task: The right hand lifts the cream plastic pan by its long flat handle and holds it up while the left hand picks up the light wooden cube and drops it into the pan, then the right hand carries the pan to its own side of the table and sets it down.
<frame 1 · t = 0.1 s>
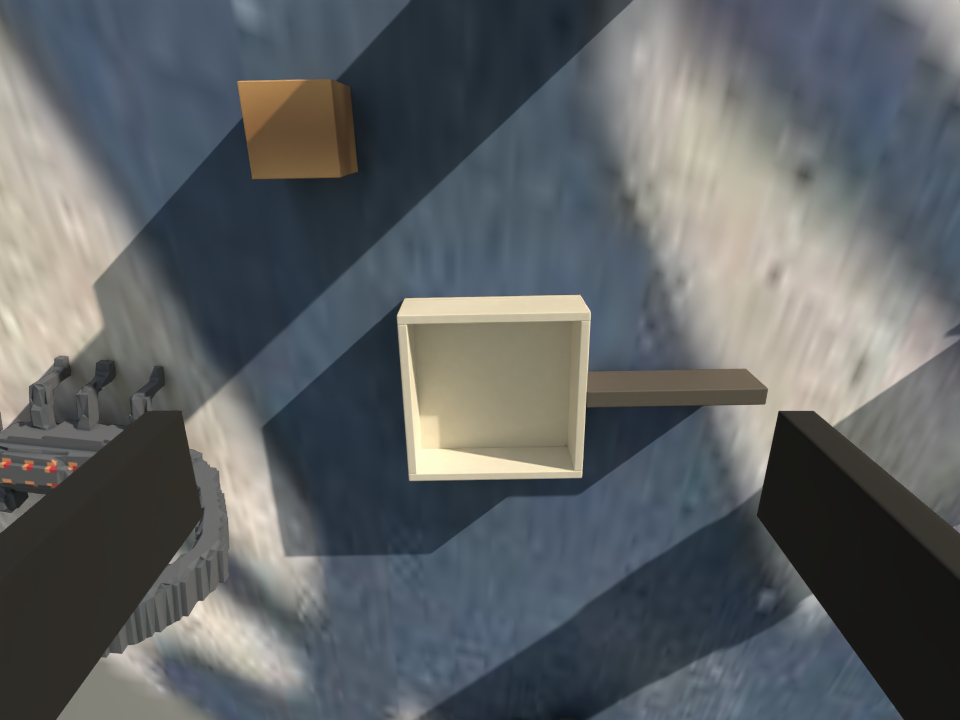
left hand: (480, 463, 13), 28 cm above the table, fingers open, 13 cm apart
toy: (103, 432, 44), on the table
wooden cube: (314, 130, 36), on the table
pan: (493, 377, 43), on the table
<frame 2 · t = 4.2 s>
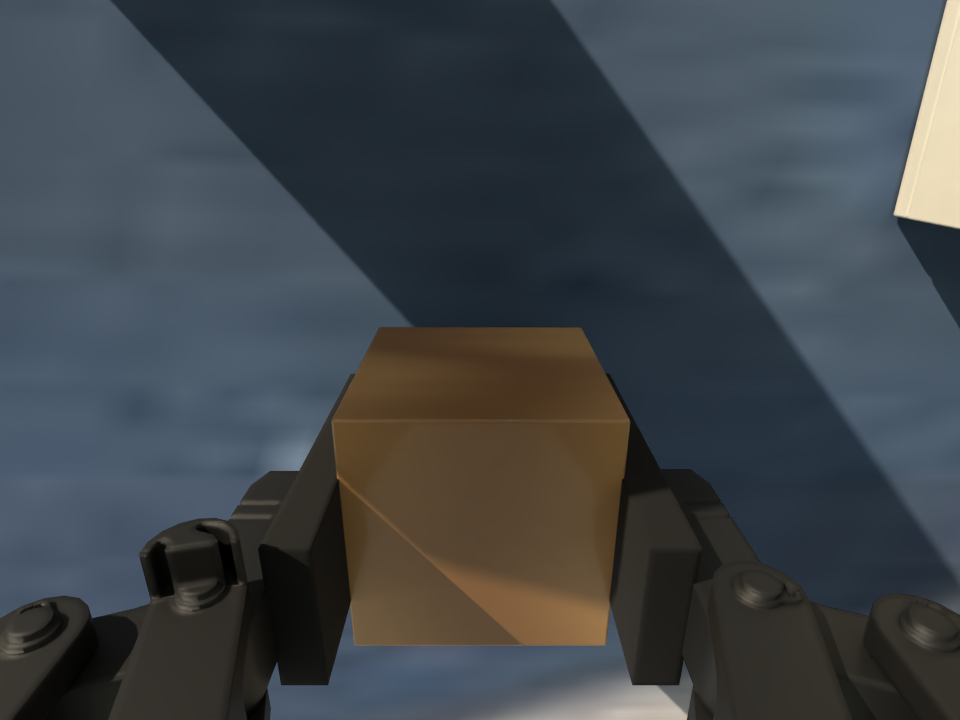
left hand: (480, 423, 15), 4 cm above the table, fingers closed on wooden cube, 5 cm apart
wooden cube: (480, 417, 15), point 3 cm above the table, touching left hand
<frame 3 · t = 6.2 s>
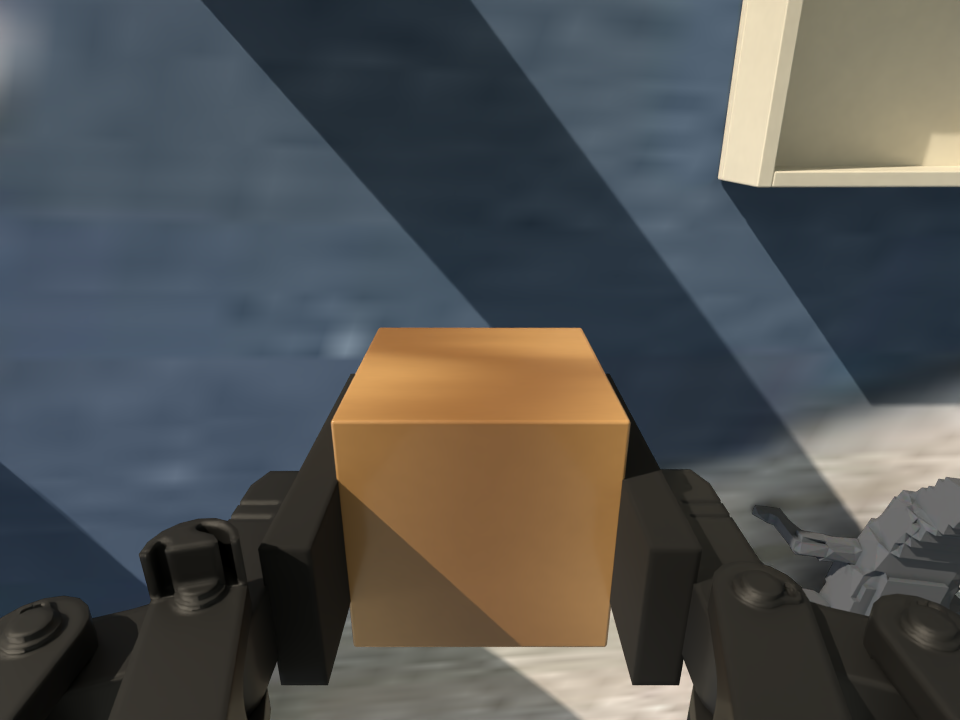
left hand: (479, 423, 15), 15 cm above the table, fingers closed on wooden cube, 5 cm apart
toy: (825, 584, 35), on the table
wooden cube: (480, 418, 15), point 14 cm above the table, touching left hand
pan: (882, 28, 25), on the table, touching right hand
when the left hand's fingers open (17 cm above the table, at t = 10.8 s): wooden cube drops 13 cm, resting on pan.
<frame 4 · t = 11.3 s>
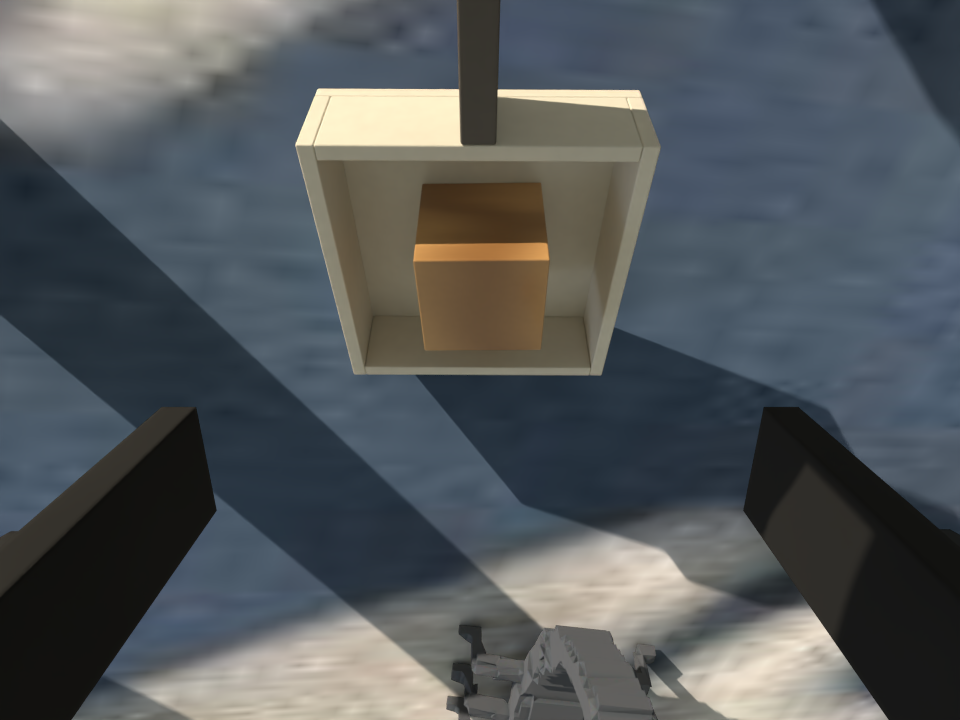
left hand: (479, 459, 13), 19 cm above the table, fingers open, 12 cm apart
toy: (536, 685, 41), on the table
wooden cube: (482, 231, 26), point 3 cm above the table, tilted 28°, touching pan
pan: (478, 222, 27), point 3 cm above the table, tilted 28°, touching right hand, wooden cube
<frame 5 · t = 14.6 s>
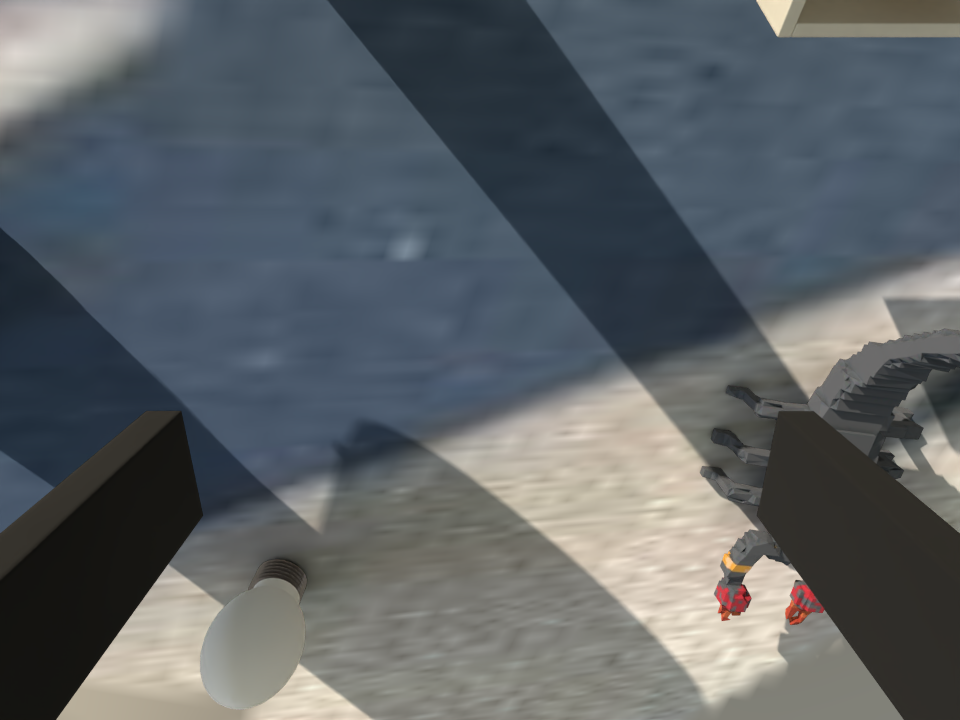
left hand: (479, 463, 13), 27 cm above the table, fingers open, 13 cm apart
toy: (786, 455, 44), on the table
light bulb: (285, 575, 48), on the table
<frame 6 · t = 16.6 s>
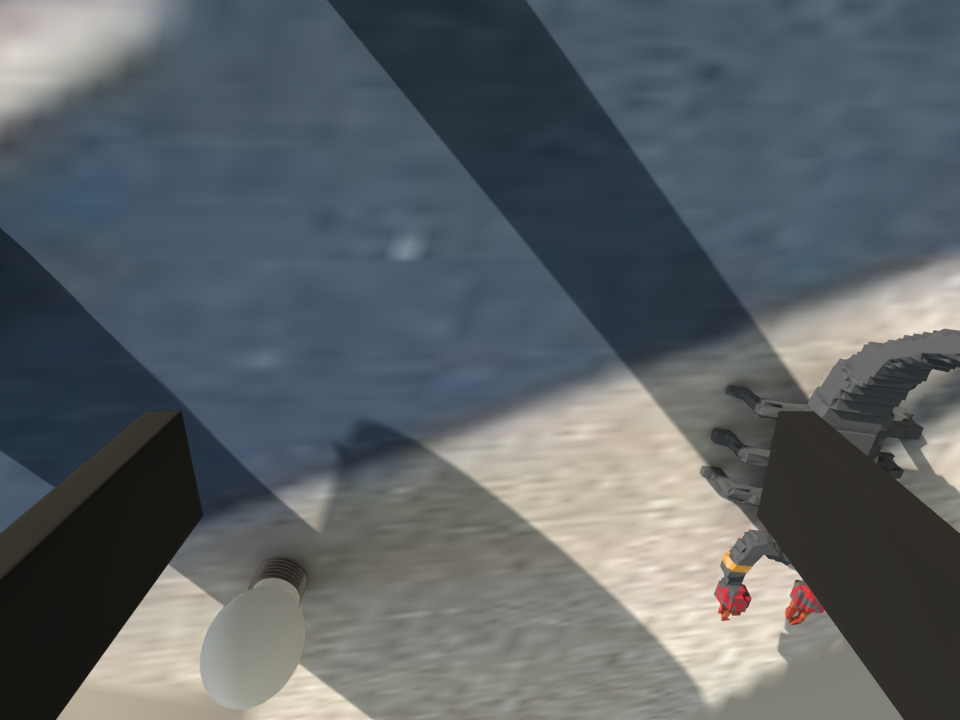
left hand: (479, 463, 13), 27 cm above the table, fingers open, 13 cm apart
toy: (786, 455, 44), on the table
light bulb: (285, 575, 48), on the table
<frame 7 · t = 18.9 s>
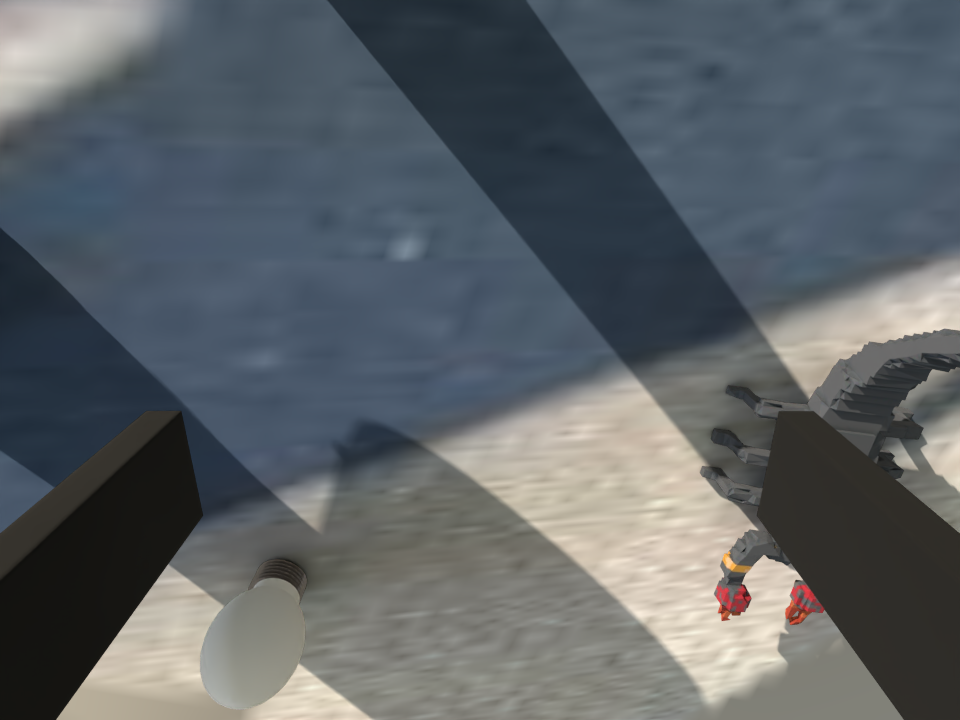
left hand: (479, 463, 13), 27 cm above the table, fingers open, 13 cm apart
toy: (786, 455, 44), on the table
light bulb: (285, 575, 48), on the table
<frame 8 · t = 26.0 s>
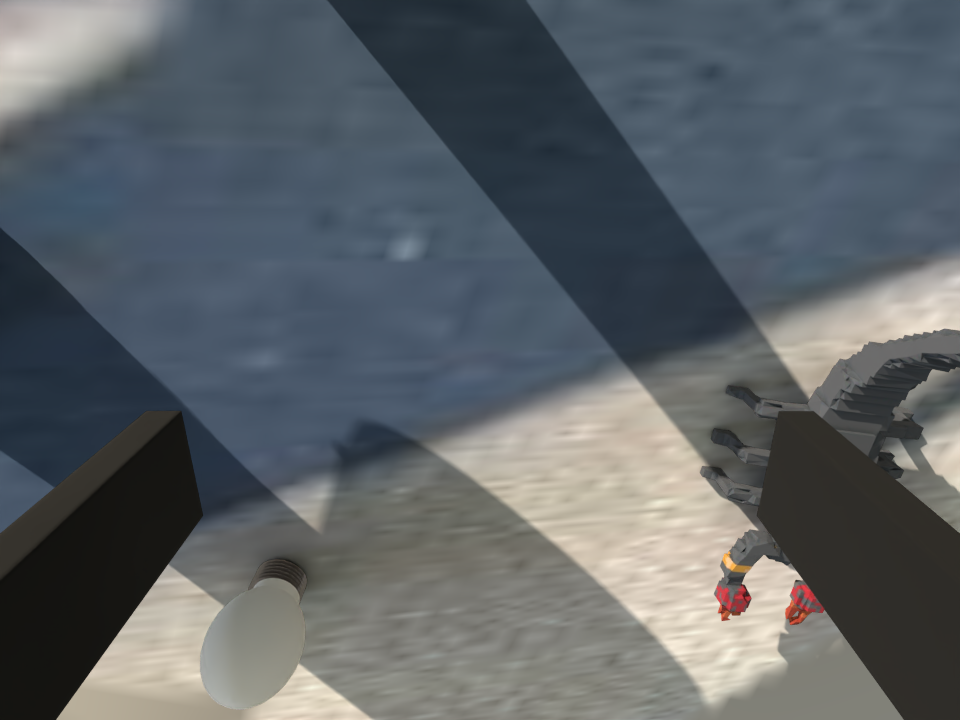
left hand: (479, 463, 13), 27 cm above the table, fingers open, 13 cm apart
toy: (786, 455, 44), on the table
light bulb: (285, 575, 48), on the table
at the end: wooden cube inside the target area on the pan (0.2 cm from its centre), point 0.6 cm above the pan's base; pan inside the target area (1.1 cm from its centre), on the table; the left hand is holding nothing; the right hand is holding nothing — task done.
